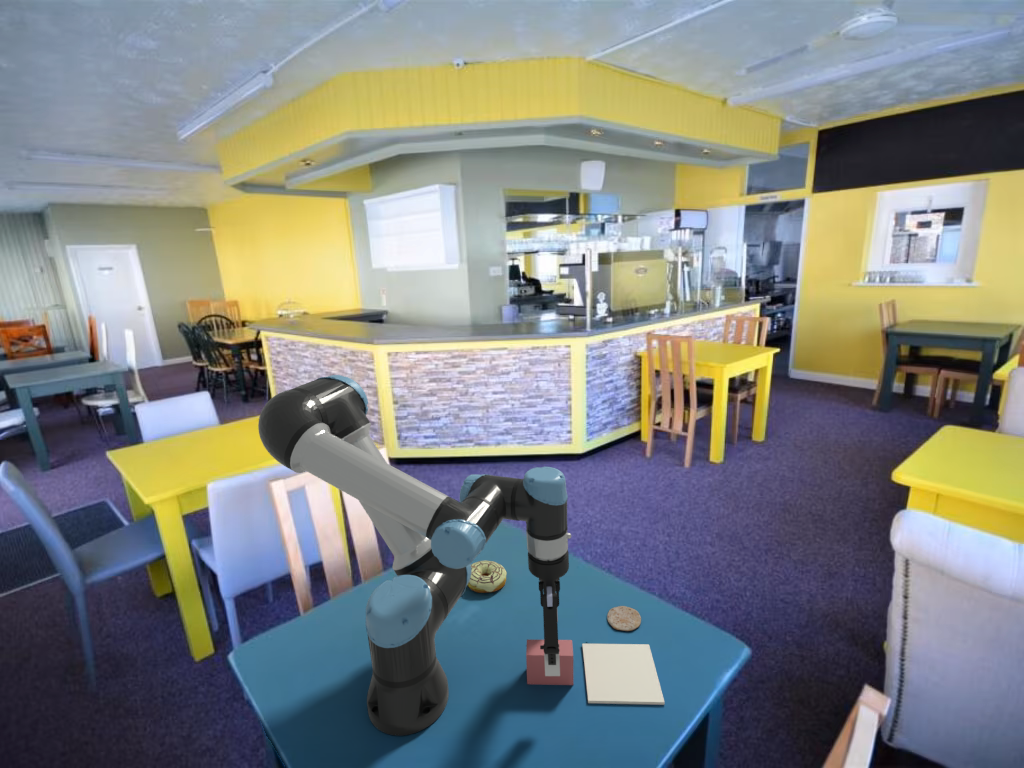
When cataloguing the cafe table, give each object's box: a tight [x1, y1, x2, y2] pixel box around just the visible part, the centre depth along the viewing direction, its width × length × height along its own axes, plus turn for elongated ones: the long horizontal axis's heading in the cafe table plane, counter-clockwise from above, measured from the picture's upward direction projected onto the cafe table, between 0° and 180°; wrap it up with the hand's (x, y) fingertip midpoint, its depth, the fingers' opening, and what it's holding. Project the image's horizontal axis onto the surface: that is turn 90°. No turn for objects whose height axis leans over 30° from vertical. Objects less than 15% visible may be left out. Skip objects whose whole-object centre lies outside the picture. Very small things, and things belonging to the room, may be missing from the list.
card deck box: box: [525, 639, 574, 686], centre depth 99 cm, size 9×4×7 cm, turn 87°
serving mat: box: [581, 643, 665, 706], centre depth 100 cm, size 14×14×1 cm
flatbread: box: [606, 605, 642, 632], centre depth 114 cm, size 8×8×1 cm
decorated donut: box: [467, 560, 507, 594], centre depth 129 cm, size 10×11×4 cm
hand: (551, 646), depth 98 cm, fingers open, 13 cm apart
